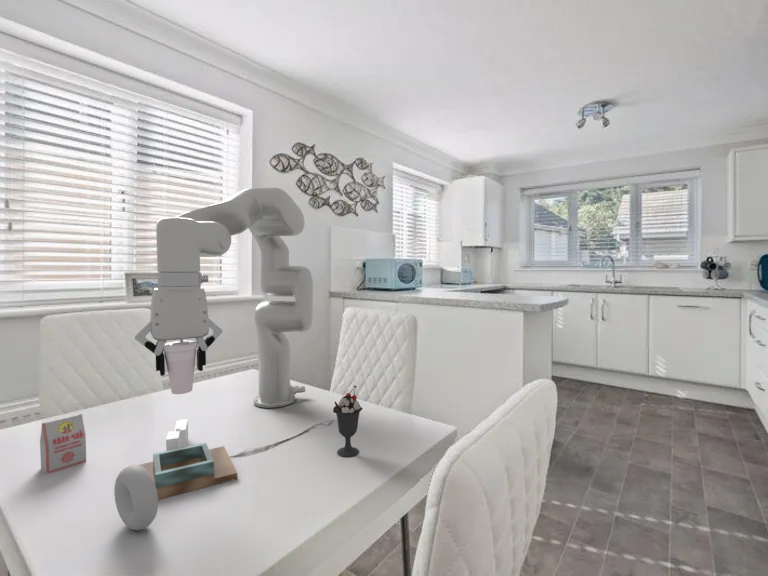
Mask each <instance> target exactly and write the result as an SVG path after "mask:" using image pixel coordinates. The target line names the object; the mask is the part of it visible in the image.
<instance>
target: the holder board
mask: <svg viewBox="0 0 768 576" xmlns="http://www.w3.org/2000/svg"><path fill="white" fill-rule="evenodd" d="M152 459H153V461H150V462H145V463H139V464H138V465H139V466H142V467H144V468H145V469H146V470H147V471H148V472H149V474H150V475H151V477H152V478H153V481H154V483H155V486H156V490H157V495H158V500H161V499H165V498H166V499H167V498H169V497H174V496H177V495H180V494H184V493H188V492H192V491H196V490H200V489H203V488H208V487H211V485H212V486H216V485H218V484H223V483H227V482H231V481H233V480H237V479H238V471H237V469H236V467H235V466H234V463H233V462H232V460H231V457H230V455H229V454H228V451H227V450H226V448H225V446H224V445H223V446H218V447H214V448H209V447H208V444H207V442H204V443H203V442H202V443H198V444H194V445H187V447H183V448H178V449H173V450H168V451H166V450H164V451H159V452H155V453H153V454H152ZM230 480H231V481H230ZM215 484H216V485H215ZM207 486H208V487H207Z"/></svg>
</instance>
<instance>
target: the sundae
mask: <svg viewBox="0 0 768 576" xmlns="http://www.w3.org/2000/svg"><path fill="white" fill-rule="evenodd" d="M357 387H358V386H357V385H354V386H353V388H352V389H351V391H350V392H347V393H346V394H345V395H344V396H342V397H341V398H340V400H339V402H337V401H334V405H335V406H334V407H333V408H332V411H333V413H334V414H335V415H336V420H337V427H338V432H339V434H340V435H341V436H342V437H344V439H345V441H344V442H345V444H344V446H343V447H340V448H339V449H338V450H337V452H336V454H337V455H338V456H340V457H343V458H351V457H355V456H357V455H358V454H359V453H360V450H359V449H358V448H357V447H354V446H352V443H351V440H352V439H351V438H352V437H353V436H354V435H356V433H357V431H358V426H359V417H360V412H361V411H362V410H363V407H362V406H361V404H360V403H359V401H358V400H357V399H358V397H357V395H356V394H355V390H356V388H357ZM352 391H353V395H352V394H351V392H352Z"/></svg>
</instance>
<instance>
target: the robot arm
mask: <svg viewBox="0 0 768 576" xmlns="http://www.w3.org/2000/svg"><path fill="white" fill-rule="evenodd" d="M304 228H305V217H304V214H303V212H302V210H301V208H300V206H299V205H297V203H296V201H295V200H294V199H293V198H292V197H291V196H290V195H289V193H288V192H286V191H285V190H284V189H281V188H279V187H251V188H244V189H243V190H240V191H238V192H237V193H235V194H233V195H232V196H231V197H229V198H227V199H225V200H223V201H221V202H218V203H214V204H210V205H207V206H204V207H200V208H197V209H193V210H189V211H187V212H184V213H182V214H179V215H177V216H173V217H172V216H170V217H167V216H166V217H162V218H160V219H158V221H157V222H156V229H155V230H156V231H155V232H156V261H157V262H156V263H157V264H156V266H157V267H156V269H157V288H153V290H152V294H151V302H150V321H149V322H147V324H146V325H145V326H144V327H143V328H141V329H140V330H139V331H138V332H137V333H136V334H135V336H134V339H135V341H137V342H138V343H140V344H141V345H142V346H144V347H145V348H146V349H148V351H150V352H151V353H153V354H154V355H155V372H158V371H159V374H160V376H161V377H163V376H165V375H166V367H165V365H166V360H165V354H164V351H162V350H163V348H164V345H165V343H167V341H173V340H174V341H179V340H180V339H183V340H188V339H195V341H197V342H198V347H197V349H196V368H197V369H198V371H199V372H203V370H204V366H206V365H207V352H206V351H207V350H208V348H209V347H210V346H212V344H213V343H214V342H215V341H216V339H218V338H219V337H220V336H221V335H222V334H223V329H222V328H221V327H220V326H218V325H217V324H216V323H215V322H214V321H213V320H211V319H210V318H209V309H208V307H209V306H208V301H207V296H206V291H205V288H204V287H202V284H204V283H208V282H209V275H205V274H203V273H202V272H201V258H210V257H211V258H213V257H214V258H215V257H220V256H222V255H224V254H226V253H227V252H228V251H229V249H230V247H231V245H232V236H236V235H240V234H242V233H244V232H245V231H246V230H249V232H250V233H251V234H252V236H253V238H254V239H255V241H256V242H257V245H258V247H259V251H260V276H259V277H260V278H259V279H260V282H259V283H260V289H261V292H262V293H263V295H265V296H267V297H268V296H269V297H284V298H287V297H289V298H290V297H291V298H292V297H293V298H294V300H295V301H291V300H289V301H288V300H267V301H263V302H261V303H259V304H258V305H257V306H256V308H255V310H254V322H255V326H256V333H257V334H256V335H257V343H258V344H257V346H258V347H257V349H258V354H257V355H258V395H257V396H255V397H254V398H253V404H254V405H255V406H256V407H259V408H265V409H272V408H273V409H274V408H276V409H277V408H282V407H286V406H289V405H291V404H293V403H294V402H295V401H296V394H300V393H301V394H302V393H305V392H306V387H305V385H303V386H299V385H294V386H293V385H291V345H290V342H289V339H288V338H287V336H286V335H285V333H305V332H308V331H309V330H310V328H311V327H312V323H313V308H314V306H313V305H314V304H313V303H314V301H313V300H314V292H313V291H314V282H313V281H314V280H313V275H312V273H311V271H310V269H309V268H308V267H306V266H301V265H290V251H289V248H288V246H287V244H286V243H285V241H284V240H283V239H282V238H281V237H294V236H298V235H300V234H301V233H302V232H303V230H304ZM210 329H211V330H212V332H211V333H210V335H209V332H210ZM149 333H150V334H151V337H152V338H153V340H157V341H156V343H154V342H153V341H151V340H149V339H148V338H147V337H146V336H147V335H148V334H149ZM207 335H208V336H207ZM206 336H207V337H206ZM204 337H206V338H205V339H204Z"/></svg>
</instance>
